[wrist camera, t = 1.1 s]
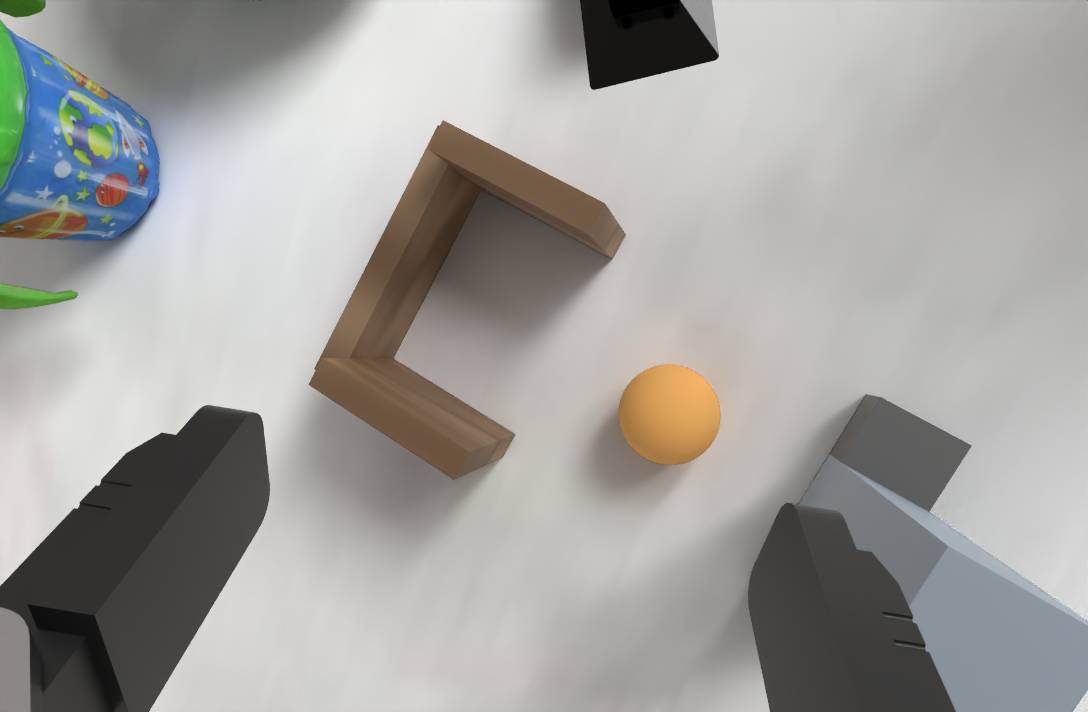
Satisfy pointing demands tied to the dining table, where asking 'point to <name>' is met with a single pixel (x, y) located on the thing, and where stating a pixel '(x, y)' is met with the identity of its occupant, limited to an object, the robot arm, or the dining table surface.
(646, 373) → the ball
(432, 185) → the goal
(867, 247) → the dining table surface
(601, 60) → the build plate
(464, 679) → the dining table surface
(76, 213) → the snack cup
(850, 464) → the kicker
